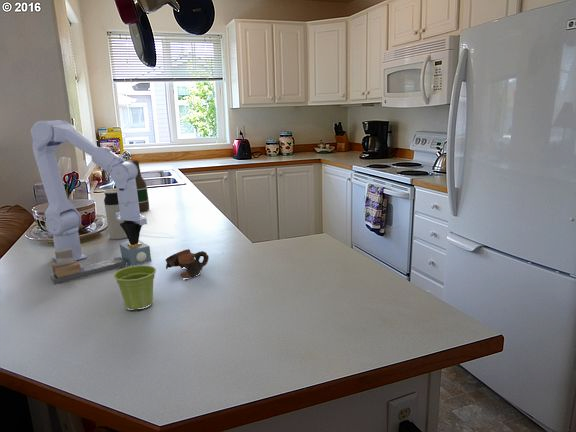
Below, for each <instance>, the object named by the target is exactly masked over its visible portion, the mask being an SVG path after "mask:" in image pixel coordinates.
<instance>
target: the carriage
mask: <svg viewBox="0 0 576 432" xmlns="http://www.w3.org/2000/svg"><path fill="white" fill-rule="evenodd" d="M54 256H56V260H55V261H56V262H54V263H51V269H52V274H55V275H56V276H57V277H58V278H60V277H63V276H67V275H71V274H75V273H79V272H81V268H80V267H81V264H80V262H78V260H75V259H73V255H72V250H71V249H70V248H69V249H65V250H60V251H56V252H55V251H54Z"/></svg>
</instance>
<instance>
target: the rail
mask: <svg viewBox="0 0 576 432" xmlns="http://www.w3.org/2000/svg"><path fill="white" fill-rule="evenodd" d="M127 264H128V263H127V262H126V260H124V259H123V258H122V256H119V257H115V258H112V259H111V258H110V259H107V260H104V261H103V260H102V261H98V262H94V263H91V264H87V265H84V266H83V265H82V266H80V268H81V272H79V273H75V274H71V275H67V276H63V277H60V278H58V277H57V276H56V275H55V274H54V273H50V274H49V277H50V281H51V282H52V283H53V284H54V285H57V284H58V285H59V284H61V283H65V282H70V281H73V280H77V279H81V278H85V277H89V276H92V275H97V274H100V273H104V272H107V271H111V270H115V269H118V268H122V267H125V266H126V265H127Z"/></svg>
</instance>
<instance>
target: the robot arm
mask: <svg viewBox="0 0 576 432" xmlns="http://www.w3.org/2000/svg"><path fill="white" fill-rule="evenodd" d="M30 134H31V137H32V152H33V155H34V159H35V163H36V165H37V168H38V169H37V170H38V172H39V173H38V174H39V175H40V179H41V182H42V186H43V189H44V192H45V195H46V198H47V201H48V207H47V208H46V210H45V211H44V216H45V222H44V225H45V229H46V230H47V232H49V233H50V234H51V236H52V237H53V239H52V241H53V245H54V253H55V252H56V251H60V250H65V249H69V248H70V249H71V250H72V255H73V259H75V260H76V261H79V260H84V259H86V258H87V256H86V255H85V254H83V252H82V246H81V240H80V234H79V230H80V227H79V226H80V225H81V224H82V216H81V214H80V212H79V211H78V210H77V208H76V205H75V204H74V203H72V202H71V201H70V200H69V198H68V195H67V192H66V189H65V184H64V182H63V178H62V175H61V171H60V167H59V164H58V161H57V157H56V154H55V152H56V151H57V150H58V148H59V146H61V145H62V144H63V143H69V144H70V145H73V146H74V147H75V148H77V149H78V150H80V151H81V152H82V151H83V152H84V153H86V155H89V156H91V157H90V158H91V161H92V162H93V163H94V164H95V165H96V166H98V167H100V169H102V170H103V171H105V172H106V173H108V174H109V176H110V178H111V179H112V181H113V182H114V184H115V185H114V186H115V189H116V188H117V195H118V202H119V209H120V212H119V213H115V214H116V219H117V220H119V221H122V220H124V223H120V226H121V227H122V228H123V230H124V231H125V233H126V235H127V238H126V239H127V240H128V242H129V243H130V244H131V245H134V244H138V242H139V241H140V233H141V230H142V228H143V226H145V225H148V221H147V217H144V216H143V215H142V214H141V212H140V210H139V202H138V194H137V187H136V179H135V178H136V177H137V175H138V168H137V166H136V165H135V164H134V163H133V162H132V161H133V160H125V159H124V157H122V156H119V155H117V154H116V153H114V152H113V151H112V149H111V148H110V147H109V146H100V147H99V146H97V144H95V143H94V142H93V141H91V140H90V139H89V138H87V136H85V135H83V134H82V133H81V132H80V131H78V130H77V129H76V128H75V126H74V125H73V124H71V123H69V121H67V120H64V119H56V120H38V121H36V122H34V124H33V125H32V127H31V129H30ZM52 258H53V259H54V260H55V261H56V256H55V255H52Z"/></svg>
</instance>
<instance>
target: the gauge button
mask: <svg viewBox="0 0 576 432" xmlns="http://www.w3.org/2000/svg"><path fill="white" fill-rule="evenodd" d="M137 246H141V243H139V242H138V244H134V245H131V244H130V243H129V244H128V247H130V248H132V247H137Z"/></svg>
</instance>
